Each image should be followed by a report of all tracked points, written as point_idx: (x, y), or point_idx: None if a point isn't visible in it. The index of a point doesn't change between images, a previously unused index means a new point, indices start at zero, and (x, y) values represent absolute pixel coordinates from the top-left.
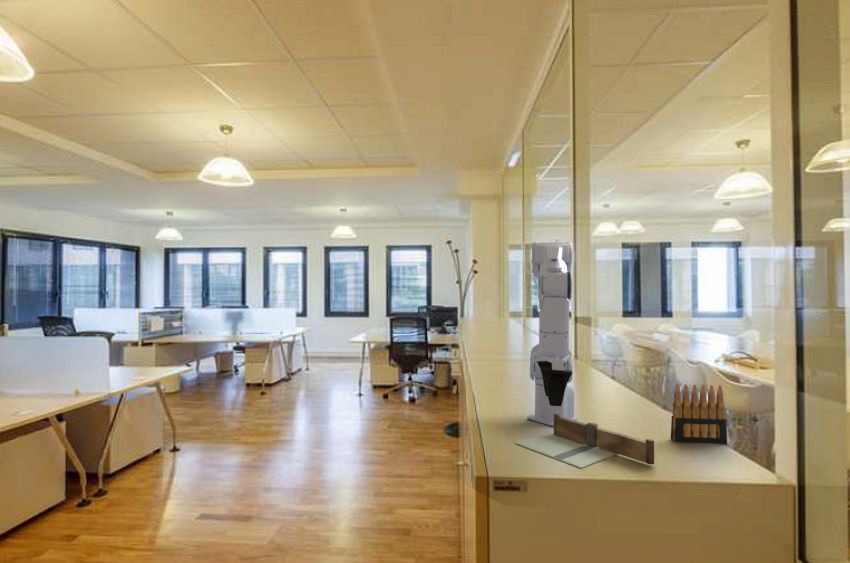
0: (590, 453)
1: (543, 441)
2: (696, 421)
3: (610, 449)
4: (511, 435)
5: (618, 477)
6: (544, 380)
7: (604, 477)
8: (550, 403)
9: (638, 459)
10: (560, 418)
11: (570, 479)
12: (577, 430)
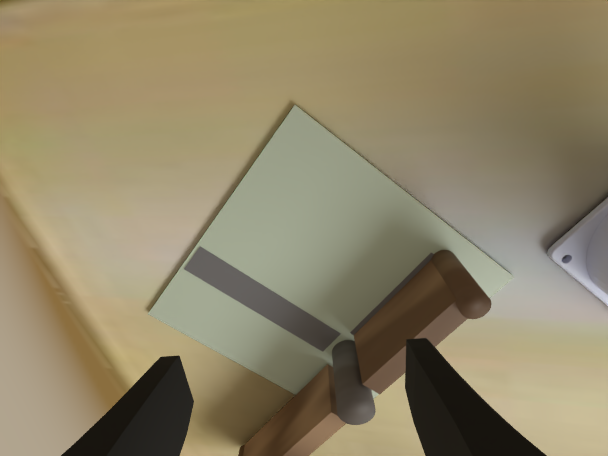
0: (275, 343)
1: (343, 215)
2: None
3: (301, 395)
4: (402, 78)
5: None
6: (453, 427)
7: (120, 355)
8: (153, 368)
9: (255, 436)
10: (444, 312)
11: (55, 282)
12: (378, 345)
